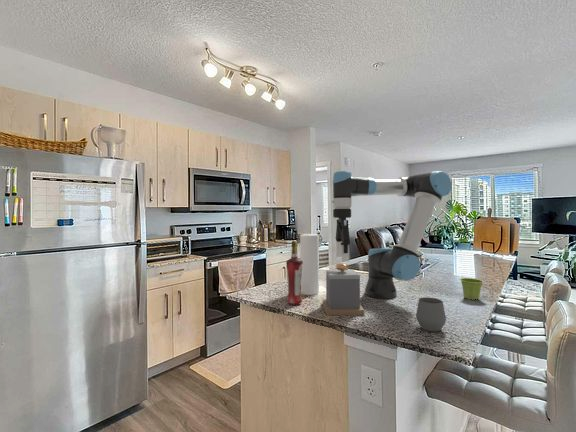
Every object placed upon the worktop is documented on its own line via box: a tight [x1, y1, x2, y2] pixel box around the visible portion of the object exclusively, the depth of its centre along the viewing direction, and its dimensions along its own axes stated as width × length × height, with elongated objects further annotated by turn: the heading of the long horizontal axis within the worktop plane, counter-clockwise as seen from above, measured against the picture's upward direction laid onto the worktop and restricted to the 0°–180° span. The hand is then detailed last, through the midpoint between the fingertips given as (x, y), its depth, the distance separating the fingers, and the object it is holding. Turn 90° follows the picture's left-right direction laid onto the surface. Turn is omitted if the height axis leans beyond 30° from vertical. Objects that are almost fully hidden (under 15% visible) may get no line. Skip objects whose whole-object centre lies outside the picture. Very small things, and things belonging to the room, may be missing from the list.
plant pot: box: [459, 277, 484, 301], centre depth 144 cm, size 9×9×9 cm
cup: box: [415, 296, 447, 333], centre depth 106 cm, size 10×9×10 cm
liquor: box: [286, 240, 303, 306], centre depth 136 cm, size 7×7×28 cm
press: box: [322, 269, 365, 316], centre depth 128 cm, size 15×15×16 cm
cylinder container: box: [299, 233, 320, 296], centre depth 155 cm, size 9×9×30 cm
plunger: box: [335, 262, 349, 273], centre depth 128 cm, size 9×9×16 cm
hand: (342, 258), depth 128 cm, fingers open, 13 cm apart
